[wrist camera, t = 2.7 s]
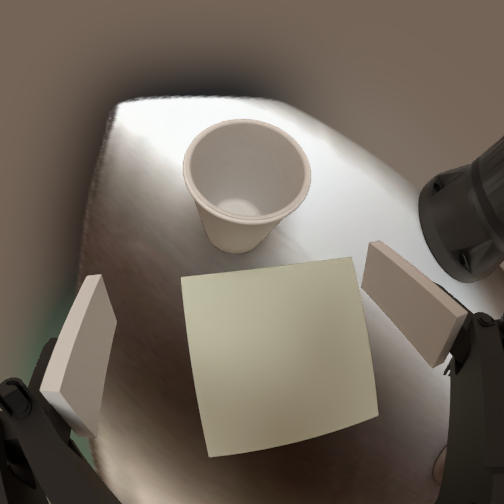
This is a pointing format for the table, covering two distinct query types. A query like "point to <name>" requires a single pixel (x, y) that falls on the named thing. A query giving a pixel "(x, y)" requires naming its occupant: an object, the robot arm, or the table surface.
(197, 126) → the table surface
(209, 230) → the dixie cup
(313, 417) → the sage mat
